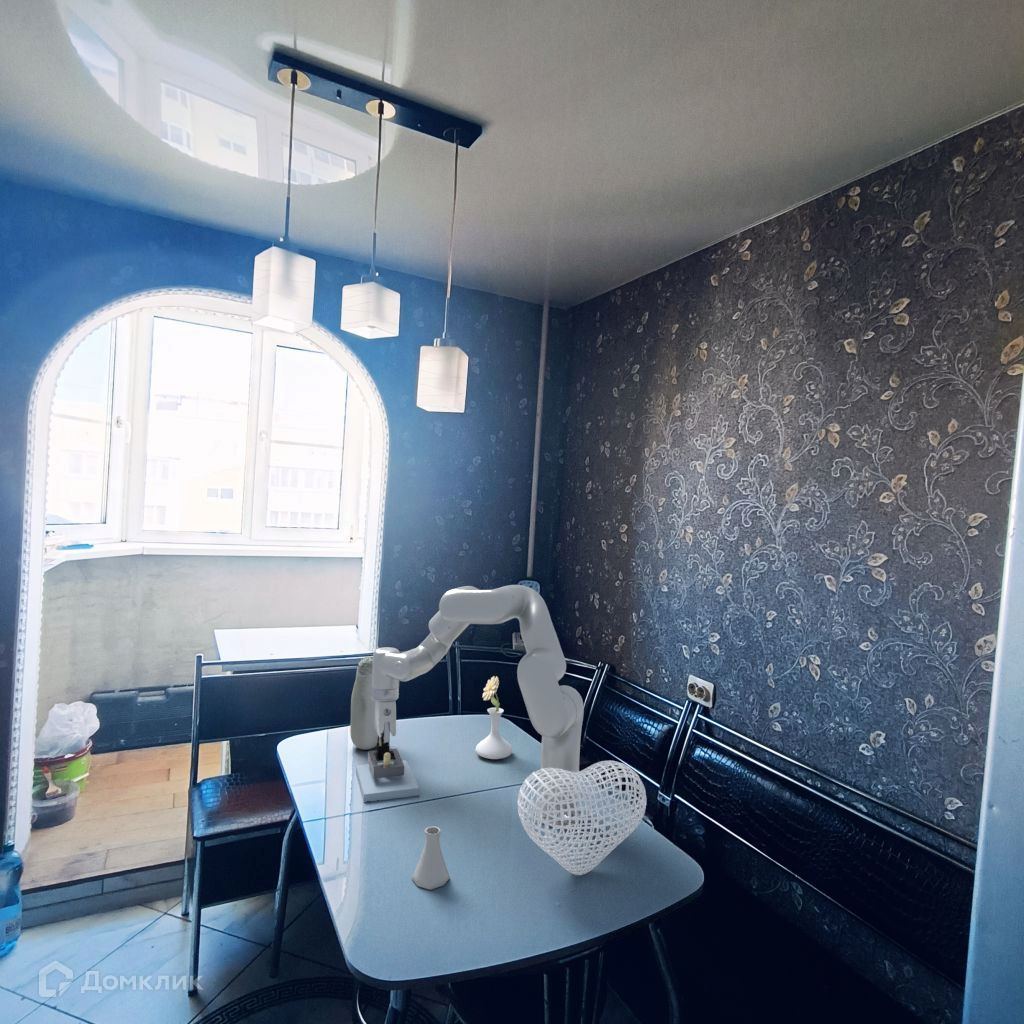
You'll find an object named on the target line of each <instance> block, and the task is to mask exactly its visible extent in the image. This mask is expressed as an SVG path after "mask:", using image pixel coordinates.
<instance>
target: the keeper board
mask: <svg viewBox="0 0 1024 1024" xmlns="http://www.w3.org/2000/svg"><path fill="white" fill-rule="evenodd" d="M390 758H391V755H390V753H388V752H386V753H385V754H384V761H383V762H377V763H378V766H387V765H394V763H393V761H391V760H390ZM402 762H403V764H404V775H402V776H393V777H384V778H376V779H373V776H372V772H371V769H370V766H369V763H366V764H359V765H358V764H357V765H355V774H356V775H355V776H356V779H357V778H358V779H357V783H358V782H359V783H358V786H360V787H359V790H360V794H361V797H363V798H362V801H364V802H363V803H368V802H367V801H371V802H377V800H379V801H385V800H387V801H388V800H395V799H402V798H410V797H418V796H419V791H420V787H419V784H418V783H417V781H416V779H415V776H414V775H413V774H414V773H413V771H411V770H412V769H411V768H410V766H409V763H408V761H407V760H405V759H403V760H402Z"/></svg>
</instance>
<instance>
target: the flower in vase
mask: <svg viewBox="0 0 1024 1024" xmlns="http://www.w3.org/2000/svg"><path fill="white" fill-rule="evenodd" d="M499 684H500V680H499V677H498V676H497V675H496V676H495V675H493V676H492V677H490V679H488V680H487V683H486V684H485V687H484V688H483V693H482V697H481V698H483V701H490V702H491V703H492V705H493V706H494V707H490V708H487V709H486V710H487V713H488V714H489V716H490V722H491V727H490V733H489V734H488V736H486V737H485V738H483V739H482V740H480V742H478V743H477V745H476V747H475V752H476V754H477V755H478V756H480V757H482V758H485V759H490V760H500V759H501V760H502V759H505V758H508V757H509V756H511V755H512V753H513V747H512V745H511V744H510V743H509V741H507V740H506V739H505V738H504V737H502V736H501V735H500V732H499V731H500V730H499V726H500V719H501V716H502V714H503V713H504V711H505V710H504V709H503V708H501V707H500V705H501V703H500V702H499V697H498V694H497V691H498V688H499ZM494 695H495V696H494ZM495 697H496V698H495Z"/></svg>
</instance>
